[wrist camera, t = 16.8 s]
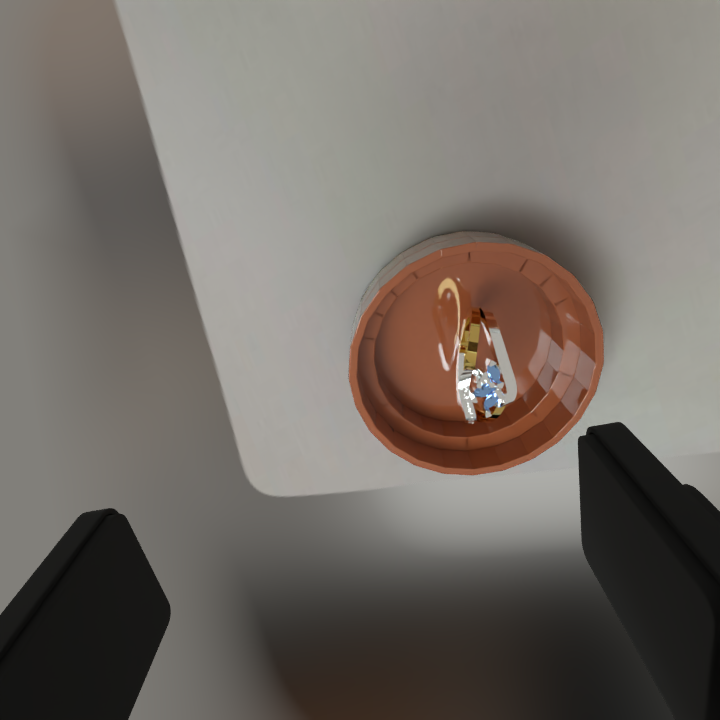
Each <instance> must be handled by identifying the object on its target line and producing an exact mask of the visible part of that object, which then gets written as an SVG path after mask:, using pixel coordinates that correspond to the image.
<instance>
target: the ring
mask: <svg viewBox="0 0 720 720" xmlns="http://www.w3.org/2000/svg"><path fill="white" fill-rule="evenodd" d="M480 320H481V322H482V325H483V328H484V331H485V334H486V337H487V340H488V343H489V346H490V349H491V352H492V356H493V359H494V361H493V360H491V359H489V358H486V361H485V364H486V368H485V369H486V371H485V370H484V369H483V368H480V369H479V368H477V367H476V356H477V349H478V340H479V331H480ZM457 349H458V353H457V364H456V390H457V401H458V407H459V412H460V415H461V418H462V420H463V421H464V422H465V423H476V421H477V422H493V421H494V420H496V419H497V418H498V417H499V416H500V414H501V413H502V411H503V410H504V408H505V406H506V405H508V404H511V403H512V402H513V401H514V400H515V398H516V395H517V385H516V380H515V376H514V373H513V370H512V367H511V364H510V361H509V358H508V354H507V351H506V348H505V345H504V342H503V338H502V335H501V333H500V330H499V327H498V324H497V322H496V319H495V317H494V315H493V313H492V311H491V310H490V309H488V308H483V307H471V306H470V307H469V308H468V310H467V312H466V315H465V318H464V322H463V326H462V330H461V335H460V338H459V339H458V343H457ZM472 376H475V379H473V383H474V384H475V386H474V387H473V388H471V383H470V381H471V378H472ZM491 380H492V381H491ZM500 388H501V389H502V388H503V392H502V391H501V389H500ZM476 397H478V398H482V397H483V398H482V401H481V407H482V408H481V407H480V406H479V405H478V404H477V402H478V401H477V399H476Z"/></svg>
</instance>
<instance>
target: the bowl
mask: <svg viewBox="0 0 720 720" xmlns="http://www.w3.org/2000/svg"><path fill="white" fill-rule="evenodd" d="M470 306H471V307H483V308H488V309H490V310H491V311H492V313H493V315H494V317H495V319H496V322H497V324H498V327H499V330H500V333H501V335H502V338H503V342H504V345H505V348H506V351H507V354H508V358H509V361H510V364H511V367H512V370H513V373H514V376H515V380H516V385H517V395H516V398H515V400H514V401H513V402H512V403H511V404H508V405H506V406H505V408H504V410H503V411H502V413H501V414H500V416H499V417H498V418H497V419H496V420H494V421H493V422H477V421H476V423H465V422H464V421H463V420H462V418H461V415H460V412H459V407H458V401H457V390H456V364H457V353H458V349H457V343H458V339H459V338H460V335H461V330H462V326H463V322H464V318H465V315H466V312H467V310H468V308H469V307H470ZM486 358H489V359H491V360H493V361H494V359H493V356H492V352H491V349H490V346H489V343H488V340H487V337H486V334H485V331H484V328H483V325H482V322H481V320H480V331H479V340H478V349H477V356H476V367H477V368H479V369H480V368H483V369H484V370H485V371H486V369H485V368H486V364H485V361H486ZM603 362H604V349H603V329H602V326H601V323H600V320H599V317H598V314H597V311H596V308H595V305H594V302H593V300H592V299H591V298H590V296H589V295H588V294H587V292H586V291H585V290H584V288H583V287H582V286H581V284H580V283H579V281H578V280H577V279H576V277H575V276H574V275H573V274H572V273H570V272H569V271H567V270H566V269H565V268H563V267H562V266H561V265H559V264H558V263H556V262H555V261H554V260H552V259H551V258H550V257H548V256H547V255H545V254H543V253H541V252H539V251H537V250H535V249H533V248H531V247H530V246H528V245H526V244H524V243H522V242H519V241H516V240H513V239H510V238H508V237H505V236H502V235H499V234H496V233H487V232H470V231H463V232H462V231H460V232H455V233H451V234H446V235H441V236H436V237H432V238H429V239H427V240H425V241H423V242H421V243H419V244H417V245H415V246H413V247H411V248H409V249H407V250H405V251H403V253H400V254H399V255H398V256H397V257H396V258H395V259H394V260H392V261H391V262H390V263H389V264H388V265H387V266H386V267H384V268H383V269H382V270H381V271H380V272H379V274H377V276H376V277H375V279H374V280H373V282H372V283H371V285H370V286H369V288H368V289H367V291H366V292H365V294H364V295H363V297H362V299H361V301H360V304H359V307H358V310H357V313H356V316H355V319H354V322H353V327H352V335H351V344H350V358H349V382H350V386H351V390H352V394H353V398H354V402H355V406H356V408H357V410H358V412H359V413H360V415H361V417H362V419H363V420H364V422H365V424H366V426H367V427H368V429H369V430H370V432H371V433H372V434H373V435H374V436H375V437H376V438H377V439H378V440H379V441H380V442H381V443H382V444H383V445H384V446H385V447H386V448H387V449H388V450H390V451H391V452H393V453H394V454H396V455H398V456H400V457H401V458H403V459H405V460H406V461H408V462H410V463H412V464H413V465H416V466H419V467H422V468H426V469H429V470H433V471H436V472H439V473H444V474H459V475H478V474H484V473H491V472H497V471H503V470H506V469H508V468H511V467H514V466H516V465H519V464H521V463H524V462H527V461H529V460H532V459H533V458H535V457H537V456H538V455H540V454H541V453H543V452H544V451H546V450H547V449H549V448H550V447H552V446H553V445H555V444H556V443H558V442H559V441H560V440H561V439H562V438H563V437H564V436H565V435H566V434H567V433H568V432H569V430H570V429H571V428H572V427H573V426H574V425H575V424H576V423H577V422H578V421H579V420H580V419H581V417H582V415H583V414H584V412H585V410H586V408H587V407H588V405H589V403H590V401H591V400H592V398H593V396H594V394H595V392H596V390H597V386H598V382H599V378H600V375H601V371H602V367H603V364H604V363H603ZM473 379H475V376H472V378H471V381H470V383H471V388H473V387H474V386H475V384H474V383H473ZM491 381H492V380H491ZM500 389H501V388H500ZM501 391H502V392H503V388H502V389H501ZM482 398H483V397H482ZM482 398H478V397H476V399H477V401H478V402H477V404H478V405H479V406H480V407H481V401H482ZM481 408H482V407H481Z"/></svg>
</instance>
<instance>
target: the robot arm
mask: <svg viewBox="0 0 720 720" xmlns="http://www.w3.org/2000/svg"><path fill="white" fill-rule="evenodd" d="M578 458H579V484H580V510H581V532H582V533H581V535H582V546H583V550H584V554H585V556H586V559H587V561H588V563H589V565H590V567H591V568H592V570H593V572H594V574H595V576H596V578H597V579H598V581H599V583H600V584H601V587H602V588H603V590H604V592H605V593H606V595H607V597H608V599H609V601H610V603H611V605H612V606H613V608H614V610H615V612H616V614H617V616H618V617H619V619H620V621H621V623H622V625H623V626H624V628H625V630H626V632H627V634H628V635H629V637H630V639H631V641H632V643H633V644H634V646H635V648H636V650H637V652H638V654H639V655H640V657H641V659H642V661H643V663H644V664H645V666H646V668H647V670H648V672H649V673H650V675H651V677H652V679H653V681H654V682H655V684H656V686H657V688H658V690H659V691H660V693H661V695H662V697H663V699H664V700H665V702H666V704H667V706H668V708H669V709H670V711H671V713H672V715H673V717H674V719H675V720H720V511H719V510H717V508H716V507H715V506H713V504H712V503H711V502H710V501H708V499H707V498H706V497H705V496H704V495H703V494H701V493H700V492H699V491H698V490H697V489H696V488H694V487H693V486H690V485H688V484H684V485H682V484H681V483H680V482H679V481H678V480H677V479H676V478H675V477H674V476H673V475H672V474H671V473H670V472H669V470H668V469H667V468H666V467H664V465H663V464H662V463H661V462H660V461H659V460H658V459H657V458H656V457H655V456H654V455H653V454H652V453H651V452H650V451H649V450H648V449H647V448H646V447H645V446H644V445H643V444H642V443H641V442H640V441H639V440H638V439H637V438H636V437H635V435H634V434H633V433H632V432H631V431H630V430H629V429H628V428H627V427H626V426H625V425H624V424H622V423H621V422H615V423H610V424H604V425H598V426H592V427H589V428H588V429H587V432H586V435H585V436H580V437H579V439H578ZM170 614H171V613H170V604H169V602H168V600H167V598H166V596H165V594H164V592H163V590H162V588H161V586H160V584H159V582H158V580H157V578H156V576H155V574H154V572H153V570H152V568H151V566H150V564H149V562H148V560H147V558H146V556H145V554H144V552H143V550H142V549H141V546H140V544H139V542H138V540H137V538H136V536H135V534H134V532H133V530H132V528H131V526H130V524H129V522H128V520H127V518H126V517H125V516H124V515H123V514H119V513H118V512H117V511H116V510H115V509H112V508H108V509H102V510H96V511H91V512H86V513H83V514H81V515H80V516H79V517H78V518H77V520H76V521H75V522H74V523H73V524H72V526H71V527H70V528H69V530H68V531H67V532H66V533H65V534H64V536H63V537H62V538H61V540H60V541H59V542H58V543H57V545H56V546H55V547H54V548H53V550H52V551H51V552H50V553H49V555H48V556H47V557H46V558H45V559H44V561H43V562H42V563H41V565H40V566H39V567H38V568H37V570H36V571H35V572H34V573H33V575H32V576H31V577H30V578H29V580H28V581H27V582H26V583H25V585H24V586H23V587H22V588H21V590H20V591H19V592H18V593H17V595H16V596H15V597H14V598H13V600H12V601H11V602H10V603H9V605H8V606H7V607H6V608H5V610H4V611H3V612H2V613H1V615H0V720H128V718H129V716H130V714H131V711H132V709H133V707H134V704H135V702H136V699H137V697H138V695H139V692H140V690H141V687H142V685H143V683H144V681H145V678H146V676H147V673H148V671H149V669H150V666H151V664H152V661H153V659H154V656H155V654H156V652H157V650H158V647H159V645H160V642H161V640H162V638H163V635H164V633H165V631H166V628H167V626H168V623H169V620H170Z"/></svg>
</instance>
